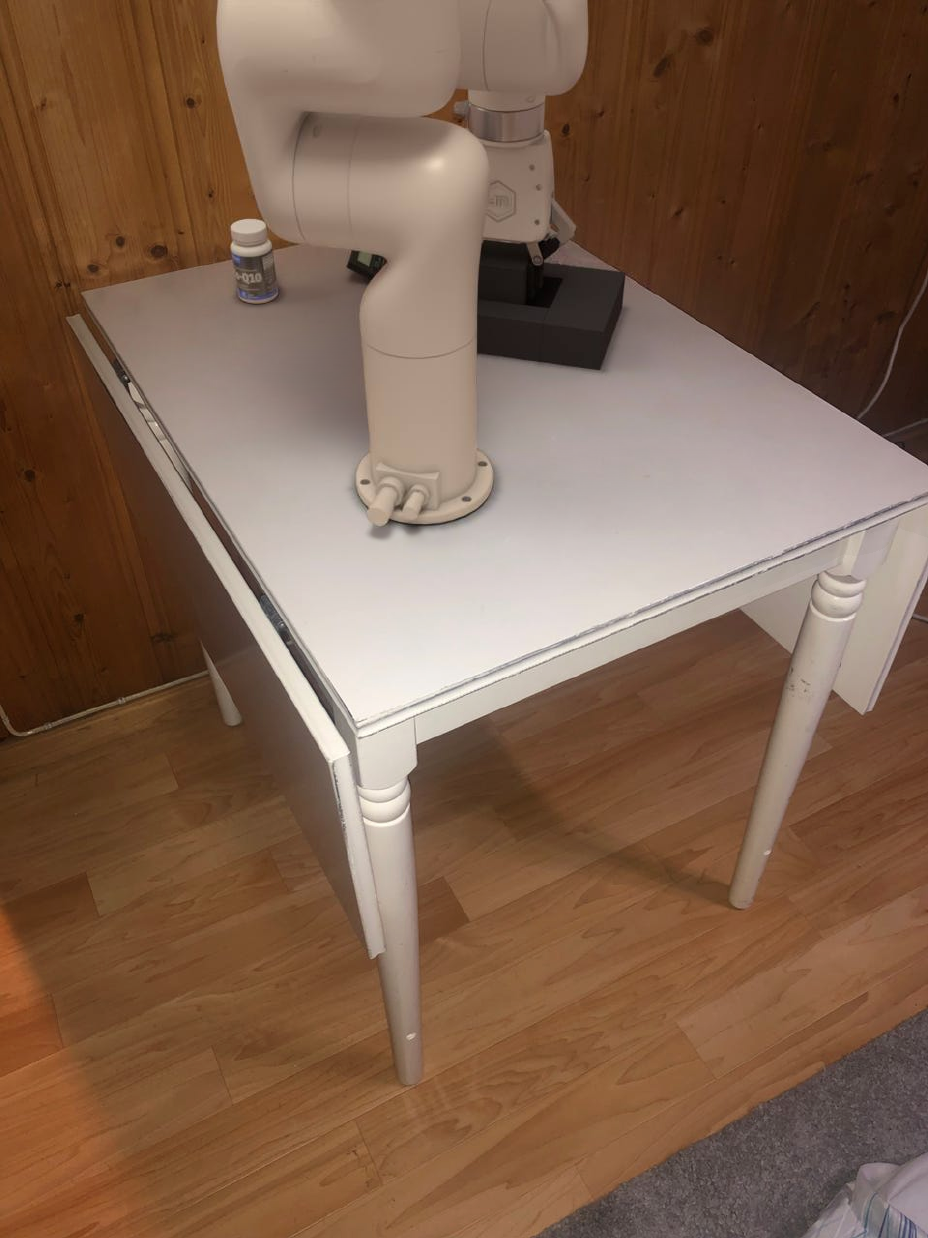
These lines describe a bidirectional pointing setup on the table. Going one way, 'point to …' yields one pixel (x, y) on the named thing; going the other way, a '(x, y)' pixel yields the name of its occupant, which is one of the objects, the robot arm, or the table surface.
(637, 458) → the table surface
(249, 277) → the pill bottle
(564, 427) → the table surface
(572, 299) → the base pad
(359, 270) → the calculator
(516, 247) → the black block
